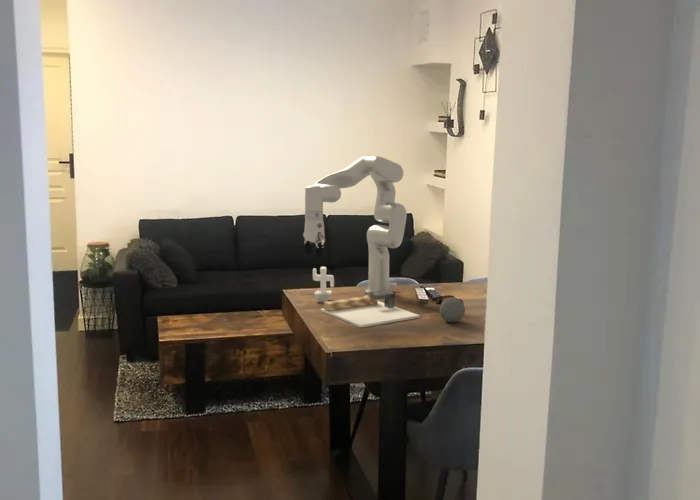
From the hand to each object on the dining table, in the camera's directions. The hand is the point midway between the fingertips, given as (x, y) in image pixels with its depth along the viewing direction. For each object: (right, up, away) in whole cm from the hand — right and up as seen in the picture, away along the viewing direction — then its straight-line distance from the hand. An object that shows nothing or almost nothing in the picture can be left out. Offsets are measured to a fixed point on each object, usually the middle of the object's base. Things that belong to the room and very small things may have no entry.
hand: (313, 255), depth 320 cm
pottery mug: (+57, -24, -2) cm, 62 cm away
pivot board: (+23, -24, -7) cm, 34 cm away
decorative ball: (+56, -27, -18) cm, 65 cm away
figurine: (+4, -20, +17) cm, 26 cm away
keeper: (+30, -22, 0) cm, 37 cm away
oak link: (+16, -22, +1) cm, 27 cm away
